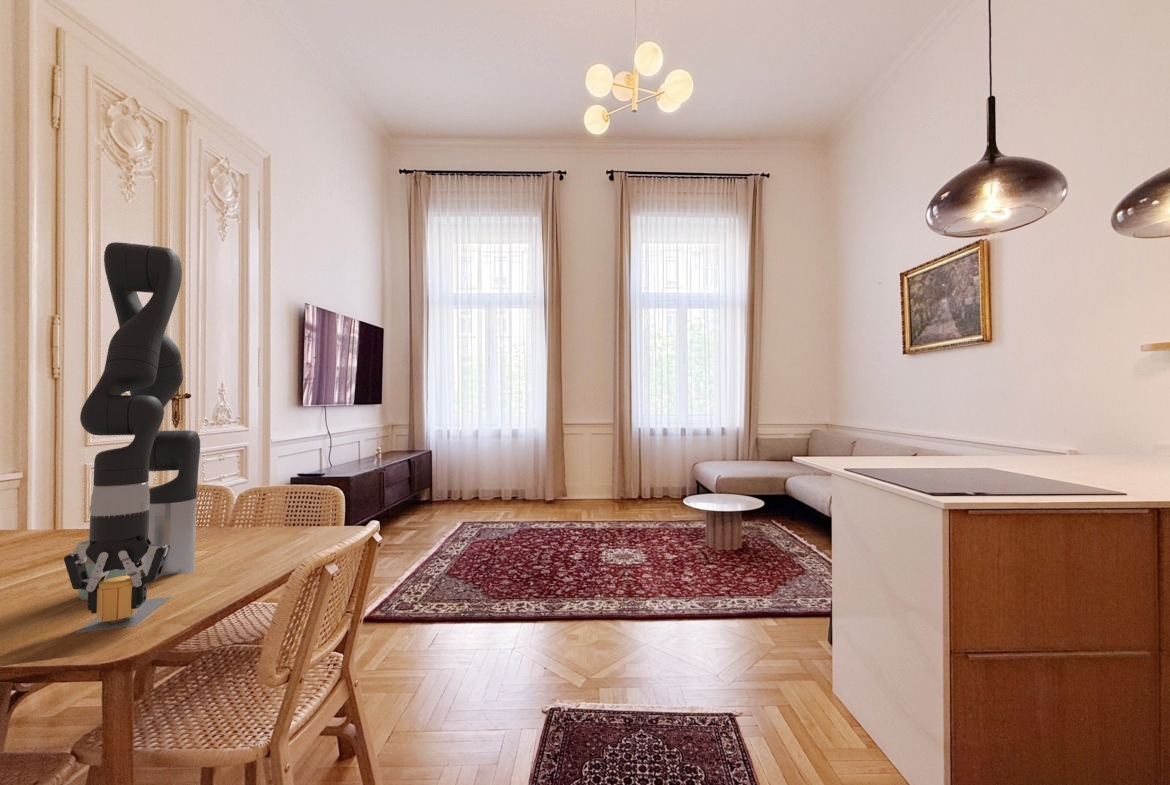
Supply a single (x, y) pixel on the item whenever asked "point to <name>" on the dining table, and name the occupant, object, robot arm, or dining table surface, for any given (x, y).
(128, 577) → the wire nut
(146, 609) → the board
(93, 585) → the robot arm
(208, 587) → the dining table surface
